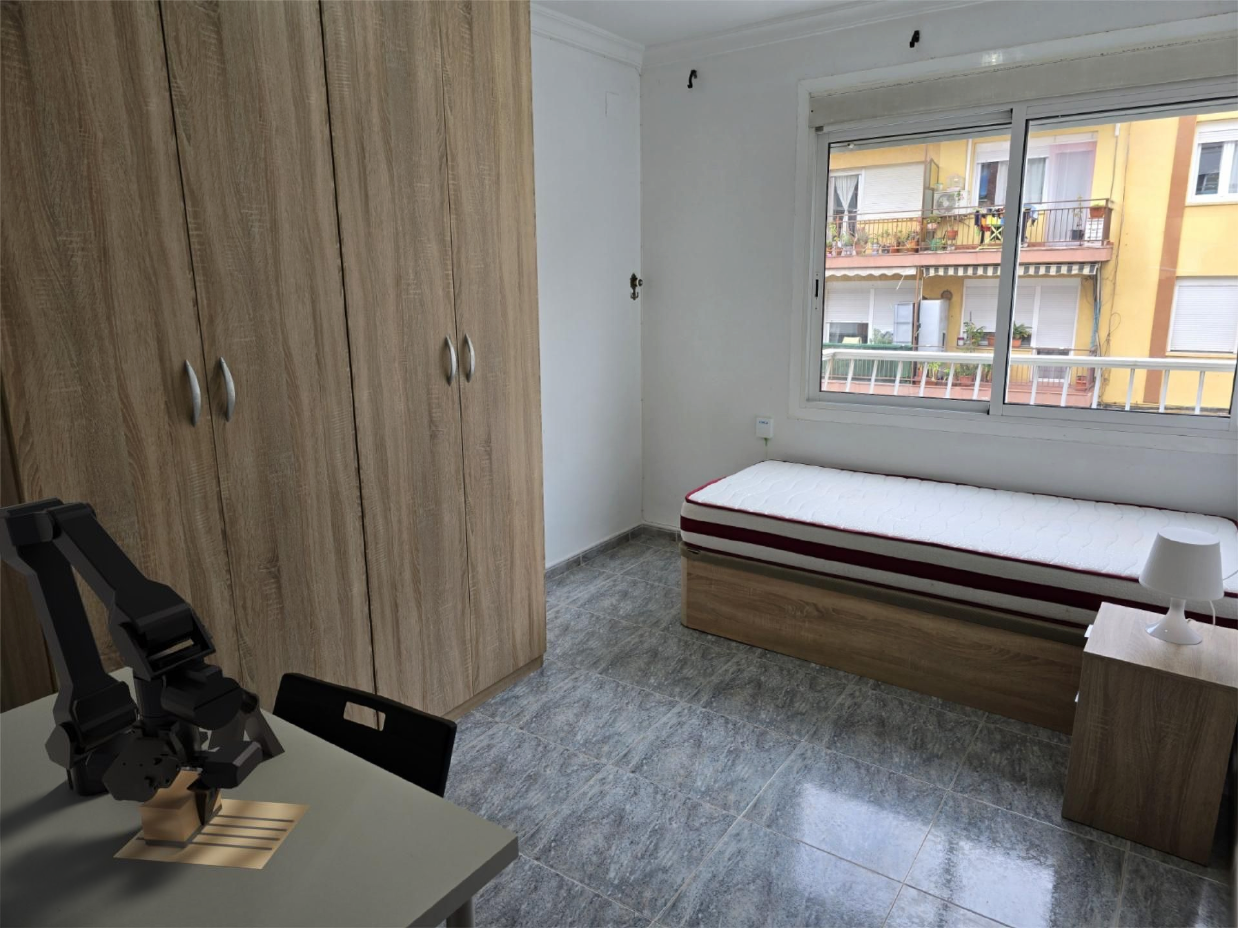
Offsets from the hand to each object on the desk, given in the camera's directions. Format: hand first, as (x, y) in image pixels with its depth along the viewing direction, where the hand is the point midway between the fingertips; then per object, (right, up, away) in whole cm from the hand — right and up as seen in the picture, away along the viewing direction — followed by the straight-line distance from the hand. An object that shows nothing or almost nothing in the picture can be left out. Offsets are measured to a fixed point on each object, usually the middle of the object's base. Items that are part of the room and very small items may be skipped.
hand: (184, 821), depth 93 cm
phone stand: (+1, +1, +14) cm, 14 cm away
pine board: (+4, -2, 0) cm, 4 cm away
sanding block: (0, -1, 0) cm, 0 cm away
